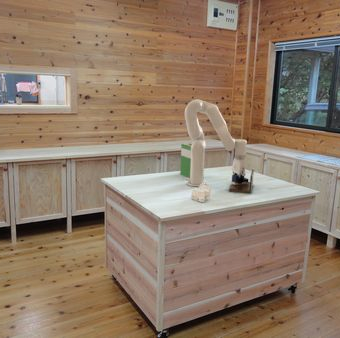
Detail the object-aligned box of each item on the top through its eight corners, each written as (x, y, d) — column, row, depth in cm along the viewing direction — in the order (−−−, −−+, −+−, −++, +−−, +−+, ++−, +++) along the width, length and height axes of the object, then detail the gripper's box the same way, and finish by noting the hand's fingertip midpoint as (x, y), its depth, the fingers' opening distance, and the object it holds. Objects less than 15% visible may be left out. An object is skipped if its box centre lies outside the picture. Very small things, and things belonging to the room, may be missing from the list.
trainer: (234, 185, 263) (235, 176, 261) (230, 183, 267) (231, 174, 266) (248, 183, 268) (249, 175, 267) (244, 182, 272) (245, 174, 271)
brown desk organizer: (229, 191, 255) (230, 174, 253) (233, 183, 278) (234, 167, 275) (250, 193, 252) (252, 176, 249) (252, 185, 275) (253, 168, 272)
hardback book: (180, 173, 303) (181, 144, 298) (188, 172, 307) (189, 143, 301) (192, 178, 288) (193, 147, 283) (200, 177, 292) (201, 147, 287)
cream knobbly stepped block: (208, 204, 232) (214, 188, 233) (202, 202, 228) (208, 185, 229) (195, 199, 241) (201, 183, 242) (188, 197, 237) (194, 181, 238)
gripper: (228, 155, 268) (226, 179, 272) (242, 159, 253) (240, 186, 257) (237, 154, 272) (235, 179, 276) (251, 159, 257) (249, 185, 261)
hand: (237, 182), depth 266 cm, fingers closed on trainer, 5 cm apart
